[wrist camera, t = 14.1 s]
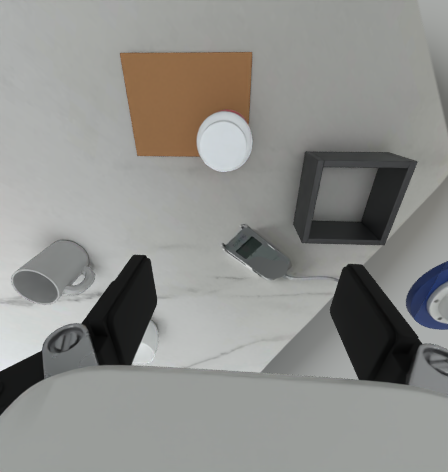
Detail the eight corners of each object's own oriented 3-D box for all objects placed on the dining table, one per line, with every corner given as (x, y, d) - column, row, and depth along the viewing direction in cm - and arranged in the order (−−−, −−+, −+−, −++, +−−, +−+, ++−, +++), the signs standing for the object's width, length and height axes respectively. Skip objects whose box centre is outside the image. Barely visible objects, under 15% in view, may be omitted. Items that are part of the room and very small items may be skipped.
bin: (389, 152, 33) (417, 161, 28) (364, 226, 39) (384, 245, 33) (305, 151, 33) (317, 160, 28) (293, 224, 39) (301, 243, 34)
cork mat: (252, 52, 28) (252, 52, 28) (247, 156, 34) (247, 157, 34) (121, 53, 29) (119, 52, 28) (138, 155, 35) (137, 155, 34)
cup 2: (166, 317, 51) (156, 345, 46) (160, 345, 56) (151, 373, 50) (130, 309, 51) (116, 336, 45) (127, 338, 56) (115, 366, 50)
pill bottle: (207, 105, 31) (194, 106, 21) (253, 113, 31) (261, 118, 21) (202, 154, 34) (188, 174, 24) (244, 161, 34) (247, 184, 24)
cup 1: (53, 232, 42) (12, 261, 34) (108, 255, 44) (81, 288, 36) (48, 261, 45) (9, 294, 37) (99, 281, 47) (72, 316, 39)
